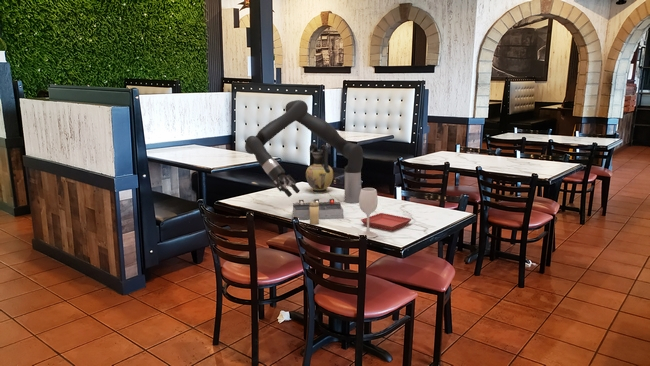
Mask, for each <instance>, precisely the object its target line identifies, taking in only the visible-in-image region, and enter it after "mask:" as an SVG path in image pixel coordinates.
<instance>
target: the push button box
mask: <svg viewBox="0 0 650 366" xmlns="http://www.w3.org/2000/svg"><path fill="white" fill-rule="evenodd" d="M313 202H317V203H319V220H335V219H337V220H338V219H344V218H345V216H344V208H343V207H342V203H341V201H335V198H329V200H328V201H321V202H320V199H318V198H314V199H313ZM310 203H311V202H305V201H304V199H299V200H298V202H295V203H294V202H293V203H292V217H293V218H294V217H298V218H299V220H298V221H302V220H303V221H305V220H306V221H307V220H308V221H310Z"/></svg>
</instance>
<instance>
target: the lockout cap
mask: <svg viewBox="0 0 650 366" xmlns="http://www.w3.org/2000/svg"><path fill="white" fill-rule="evenodd" d="M309 203H310V220H309V224H310V225H314V226H315V225H319V224H320V219H319V203H317V202H314V201H313V202H309Z"/></svg>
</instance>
